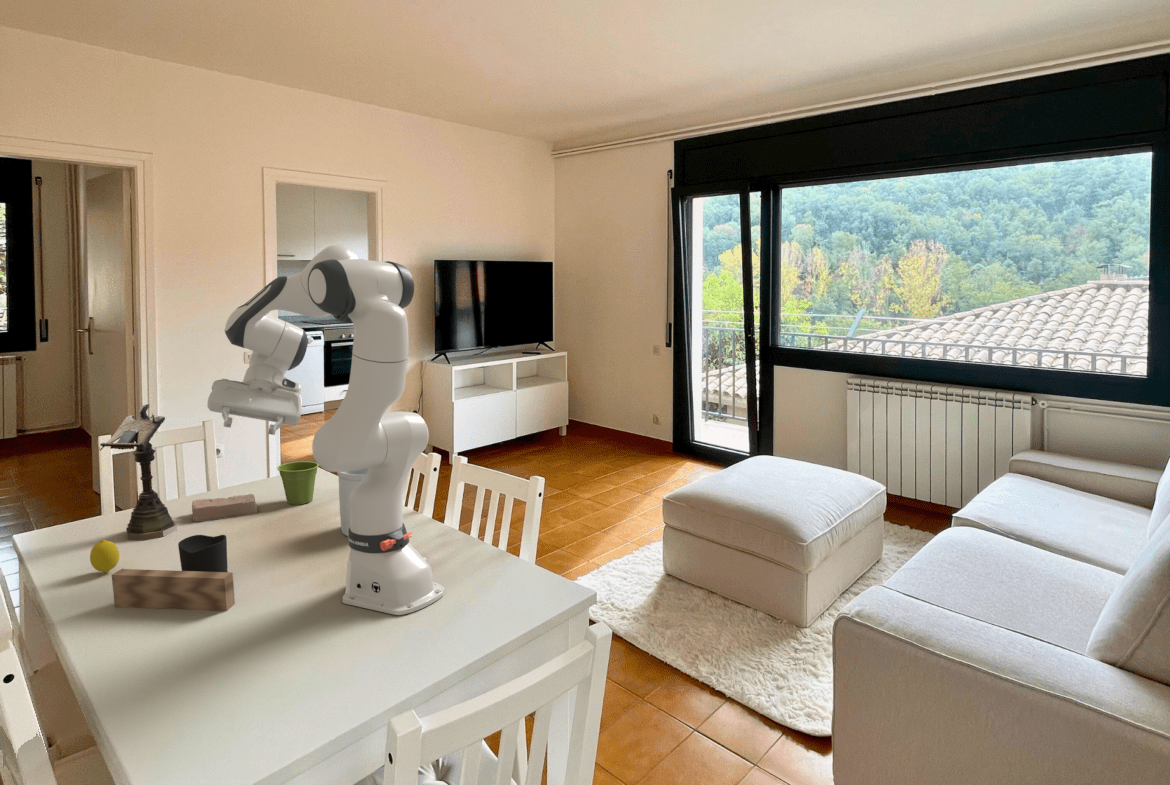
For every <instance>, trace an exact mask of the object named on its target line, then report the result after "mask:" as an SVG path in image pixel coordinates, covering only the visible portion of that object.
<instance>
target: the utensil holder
mask: <svg viewBox="0 0 1170 785" xmlns="http://www.w3.org/2000/svg"><path fill="white" fill-rule="evenodd" d="M368 470H369V468H364V469H360V470H355V471H351V472H336V473H337V476H338V496H339V497H338V498H339V499H338V500H339V516H340V528H341V533H342V534H343V535H344V536H347V537H348V530H349V528H350V514H349V496H350V493H351V491H352V490H353V488H354V487H355V486H356V485H357V484H359V483H360V482H361V481H362V480H363V479H364V477H365V476H366V474H367V472H368Z"/></svg>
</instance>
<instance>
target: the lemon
mask: <svg viewBox="0 0 1170 785" xmlns="http://www.w3.org/2000/svg"><path fill="white" fill-rule="evenodd" d="M89 554H90V555H89V561H90V564H91V566H92V568H94V570H97V571H98V572H103V573H104V574H108V573H109V572H110V571H111V570H112V569H114V568H115V567H116V566H117V565H118V563H119V561H120V551H119V548H118V546H117V545H116V543H114V542H113V541H109V540H105V539H101V540H100V541H99V542H96V543H95V545H93V546H92V548H91V550H90V553H89Z"/></svg>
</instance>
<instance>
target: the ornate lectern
mask: <svg viewBox="0 0 1170 785" xmlns="http://www.w3.org/2000/svg"><path fill="white" fill-rule="evenodd" d="M149 408H150V404H149V403H147V404H145V405H144V404H143V405H142V406H141V407H140V409H139V417H138V418H137V419H135V415H132V414H130V415H127V416H126V417H125V418H124V420H123V421H122V422H121V424H120V426H119V427H118V428H117V430H116V431H115V433H114V434H112V436H110V438H109V440H107V442H101V443H99V445H100V446H101V447H100V449H99V452H100V451H102V450H103V449H104V448H105V447H109V449H110V450H111V449H114V450H116V449H117V450H131V449H132V450H134V451H133V452H132V455H133V456H134V461H135V463H139V465H140V472H141V476H140V477H139V478H140V480H141V482H142V491H141V493H139V495H138V498H137V499H138V500H137V503H135V504H136V505H135V507H133V509H132V510H133V511H132V512H131V514H130V520H129V523H128V524H127V525H126V526H127V527H126V529H125V530H126V536H127V540H137V541H138V540H139V541H146V540H151V539H152V540H153V539H159V538H164V537H165V536H168V535H170V534H172V533H174V532H177V531H178V527H177V523H176V521H175V520H173V519H172V516H170V513H169V510H168V507H167V506H166V504H165V503H163V502H162V500H161V499H160V497H159V494H158V492H157V491H155V490H154V489H153V487H152V486H153V484H152V479H153V478H154V476H153V475H152V470H151V463H152V462H153V461H154V460H155V459H156V458H155V453H156V449H154V448H152V447H153V444H152V443H151V442H150V441H151V439H152V438H153V437H154V435H155V433H156V432H157V430H159V428H160V427H161V425H162V424H163V423H164V422H165V419H166V416H163V415H158V416H156V415H155V413H154V412H152V413H151V416H149V415H148V414H147V411H148V409H149Z"/></svg>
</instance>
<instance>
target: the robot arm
mask: <svg viewBox="0 0 1170 785" xmlns="http://www.w3.org/2000/svg"><path fill="white" fill-rule="evenodd" d="M413 278H414V277H413V276H412V273H411V271H410V270H409V269H408V267H406V266H405V265H403V264H402V263H401V264H400V263H397V262H393V261H388V260H387V261H379V260H370V259H369V260H368V259H363V258H360V256H358V255H357V253H356V252H355V251H353V250H352V249H351V248H349V247H347V246H344V245H339V244H333V245H329V246H327V247H325V248H323V249H322V250H321V251H319V252H318V253H316V255H315V256H314V257H313V258H312V259H311V260H310V261H309V262H308V263H307V264H306V265H305V267H304V269H303V270H302V271H300V272H298V273H295V274H292V275H287V276H286V275H283V276H277V277H276V278H275V279H273V280H272V281H269V283H268V284H267V285H265V286H264V287H263V288H262V289H261V290H260V291H258V292H257V293H256V294H255V295H254V296H253V297H251V298H250V299H248V300H247V302H245V303H244V304H242V305H240V306H237V308H236V309H235V310H234V311H232V312H231V314H230V315H229V317H228V319H227V321H226V322H225V328H224V334H225V335H226V337H227V339H228V340H229V343H230V344H231V345H233V346H236V347H238V348H239V347H240V348H242V349H247V350H250V351H251V355H250V358H249V361H248V365H249V366H248V368H247V369H246V371H245V373H244V377H243V379H242V381H238V380H230V379H227V378H221V379H218V380H214V381H213V383H212V386H211V391H210V394H209V396H208V399H207V409H208V410H209V411H210V412H214V413H221V417H222V418H223V421H224V422H223V427H224V428H229V429H230V428H232V425H233V420H234V418H233V417H230V415H232V416H238V417H243V418H248V419H254V420H255V419H256V420H260V421H267V422H271V424H270V425H269V426H268V431H267V434H268V435H273V436H275V435H276V431H277V430H279V429H280V428H281V427H283V424H284V425H290V426H297V425H299V423H300V420H301V416H302V410H303V398H302V395H301V384H299V383H298V382H295V381H294V380H291V379H290V378H288V377H285V376H284V375H285V374H286V373H287V371H291V370H293V369H295V368H296V367H298V366H300V364H301V363H302V361H303V360H304V358H305V355H306V352H307V349H308V344H309V338H308V335H307V333H306V331H305V330H304V329H303V328H302V327H300V326H297V325H295V324H293V323H291V322H288V321H286V320H283V319H280V318H278V317H275V316H273V315H271V314H270V312H272V311H277V310H279V311H284V312H291V313H294V314H299V315H301V316H306V317H309V318H315V319H321V318H326V317H329V316H332V317H334V319H336V320H337V321H339V322H341V321H344V320H345V319H346V318H347V317H348V318H349V319H350V320H351V322H352V324H353V328H354V330H353V331H354V334H353V342H352V354H351V365H350V373H349V381H348V386H347V390H346V392H345V395H344V397H343V399H342V402H341V403H340V405H339V406H338V408H337V410H336V412H335V413H334V414H333V415H332V416H331V417H330V418H329V420H327V421H326V422H325V423H324V424H323V425H322V426H320V427H319V428H318V429H317V431H316V432H315V434H314V437H313V439H312V443H311V444H312V447H311V448H312V453H313V454H312V455H313V458H314V460H315V461H316V463H318V464H319V467H320V468H322V469H323V470H325V471H326V472H329V473H331V472H332V473H337V472H351V471H355V470H360V469H364V468H369V470H368V472H367V474H366V476H365V477H364V479H363V480H362V481H361V482H360V483H359V484H357V485H356V486H355V487H354V488H353V490H352V491H351V493H350V496H349V514H350V528H349V530H348V536H347V540H348V546H349V548H350V552H349V556H348V560H347V563H346V574H345V575H346V579H345V589H344V594H343V595H342V598H341V599H342V604H345V605H349V606H354V607H359V608H364V609H368V610H370V611H371V610H372V611H377V612H381V613H386V614H390V615H395V616H402V615H406V614H410V613H414V612H417V611H419V610H421V609H424V608H426V607H428V606H429V605H431V604H433V603H435V602H436V601H438V600H439V599H441V598H442V597H443V596H444V594H445V593H446V591H445V590H446V589H445V587H444V586H443V585H441V584H440V583H438V582H436V581H434V574H433V571H432V567H431V565H430V564H429V562H428V559H427V558H426V557H425V556H421V554H420V553H419V552H418V551H417V550H416V548H414V546H413V545H412V544H411V543H410V538H412V537H413V536H412V534H413V532H412V531H410V532H408V531H407V527H406V526H405V524H404V522H403V499H404V497H403V495H404V488H405V483H406V480H407V477H408V474H409V473H410V470H411V467H413V464H414V463H415V461H416V459H418V457H419V456H420V455H421V454H422V453H423V452H424V451H425V450H426V448H427V446H428V442H429V438H430V437H429V436H430V434H429V428H428V424H427V423H426V421H425V420H424V418H423V417H422V416H421V415H420V414H419V413H416V412H412V411H411V412H410V411H396V410H395V411H390V412H386V411H387V410H388V409H389V408H390V406H392V405H393V404H395V403H396V402H397V401H398V400H399V399H401V397H402V396H403V394H404V392H405V389H406V381H407V370H408V359H409V348H410V347H409V344H410V340H409V338H410V337H409V324H408V323H409V322H408V316H407V313H406V312H405V310H404V308H407V307H408V306H410V304H411V302H412V300H413V298H414V294H415V281H414V279H413ZM272 422H273V423H274V424H272Z"/></svg>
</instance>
